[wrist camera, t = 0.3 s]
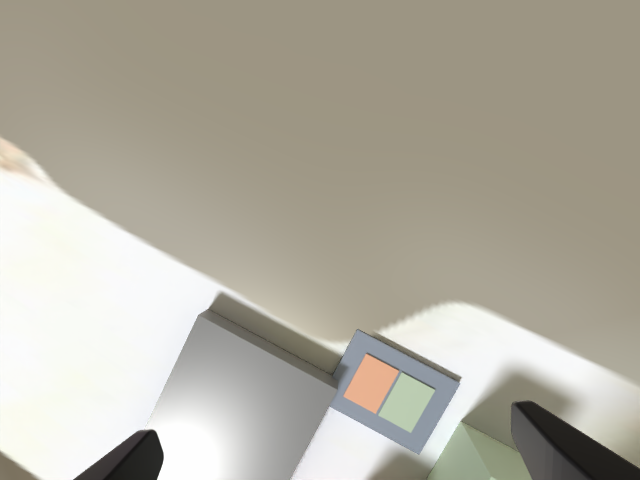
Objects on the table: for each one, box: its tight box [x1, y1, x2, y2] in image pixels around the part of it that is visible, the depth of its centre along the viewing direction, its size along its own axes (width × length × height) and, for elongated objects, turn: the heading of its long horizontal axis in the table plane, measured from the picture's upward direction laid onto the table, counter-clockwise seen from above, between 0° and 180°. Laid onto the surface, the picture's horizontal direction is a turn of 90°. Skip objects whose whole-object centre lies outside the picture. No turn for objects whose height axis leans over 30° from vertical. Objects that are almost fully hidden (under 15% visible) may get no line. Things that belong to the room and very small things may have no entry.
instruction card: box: [329, 329, 460, 454], centre depth 22 cm, size 6×8×1 cm
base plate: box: [144, 309, 338, 480], centre depth 23 cm, size 14×11×2 cm
